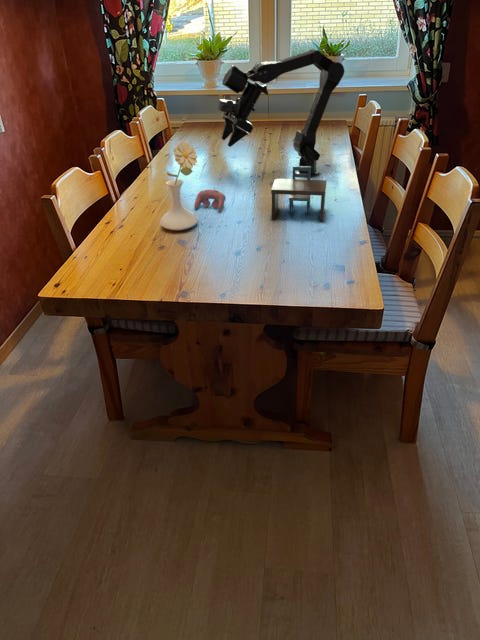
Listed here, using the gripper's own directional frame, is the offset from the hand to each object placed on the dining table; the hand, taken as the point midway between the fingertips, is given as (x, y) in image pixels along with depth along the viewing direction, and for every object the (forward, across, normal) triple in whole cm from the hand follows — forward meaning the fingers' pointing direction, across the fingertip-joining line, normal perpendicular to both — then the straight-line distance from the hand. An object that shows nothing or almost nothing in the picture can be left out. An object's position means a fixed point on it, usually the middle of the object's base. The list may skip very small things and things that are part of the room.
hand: (225, 142), depth 174 cm
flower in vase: (+25, +31, -11) cm, 41 cm away
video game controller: (+19, +21, -1) cm, 28 cm away
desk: (+5, +36, +20) cm, 41 cm away
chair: (+4, +32, +22) cm, 38 cm away
